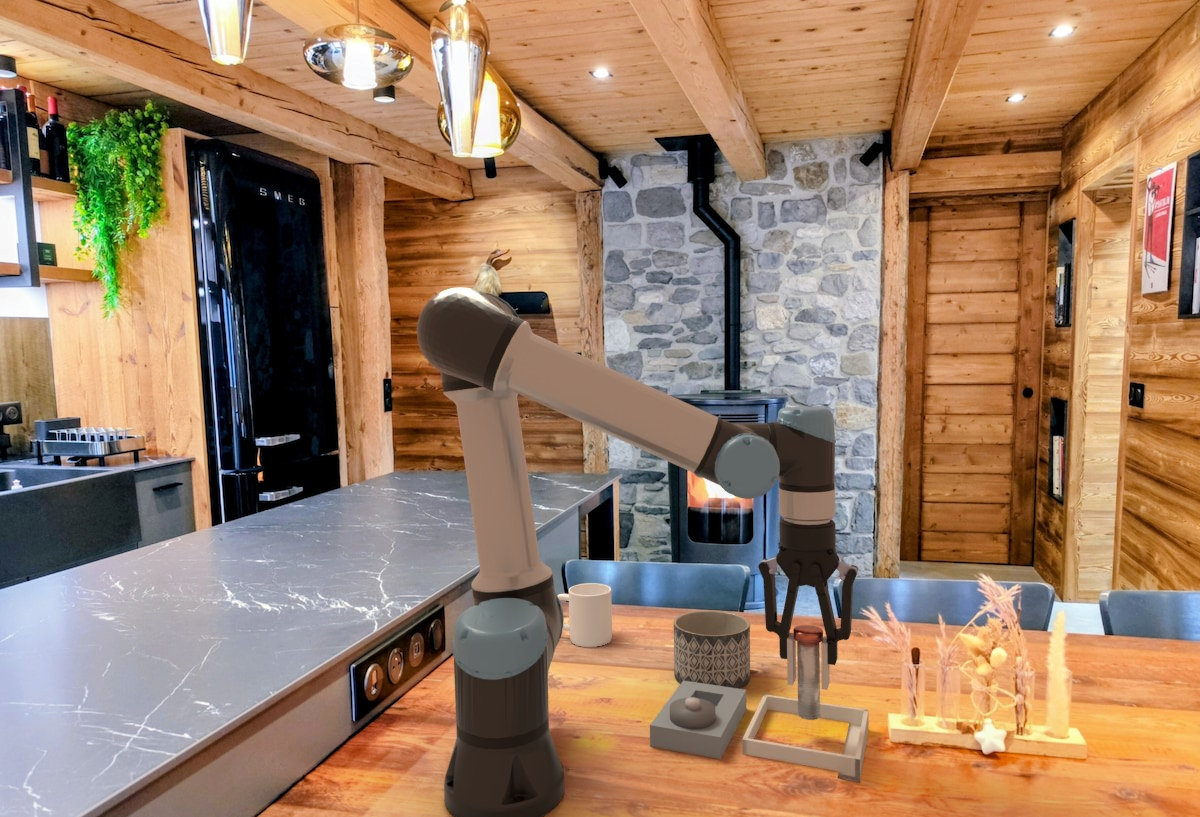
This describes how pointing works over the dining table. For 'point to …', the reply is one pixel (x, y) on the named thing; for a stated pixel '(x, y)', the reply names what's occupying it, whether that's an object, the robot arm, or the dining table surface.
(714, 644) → the planter
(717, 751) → the block
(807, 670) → the lock pin
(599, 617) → the cup
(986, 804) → the dining table surface
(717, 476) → the robot arm
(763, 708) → the tray
